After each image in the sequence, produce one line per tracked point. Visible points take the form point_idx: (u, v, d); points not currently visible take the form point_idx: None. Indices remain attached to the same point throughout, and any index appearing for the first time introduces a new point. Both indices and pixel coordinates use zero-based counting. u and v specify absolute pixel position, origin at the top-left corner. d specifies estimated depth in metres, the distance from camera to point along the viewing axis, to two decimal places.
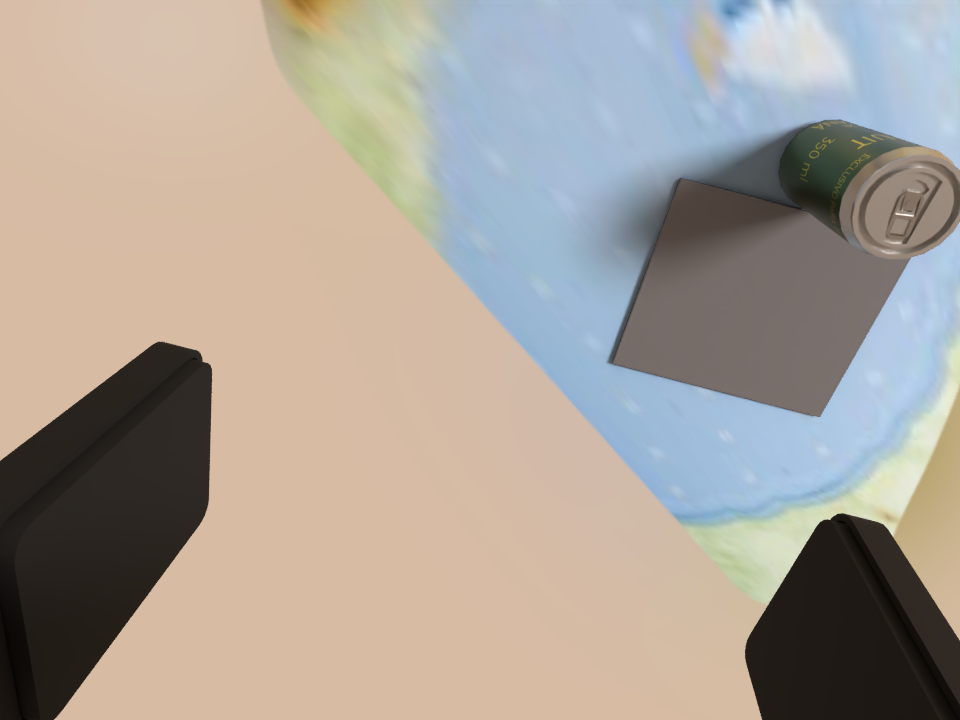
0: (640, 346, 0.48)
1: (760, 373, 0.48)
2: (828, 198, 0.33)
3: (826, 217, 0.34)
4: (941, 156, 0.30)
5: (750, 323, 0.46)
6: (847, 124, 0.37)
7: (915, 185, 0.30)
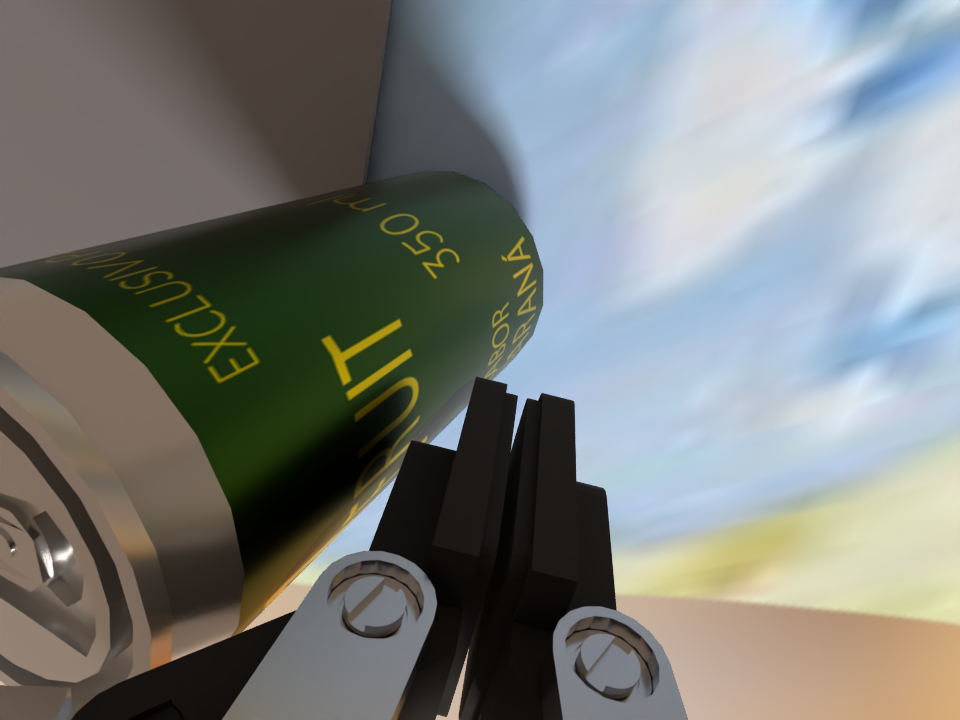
0: None
1: None
2: (133, 244, 0.08)
3: None
4: (206, 639, 0.07)
5: (59, 168, 0.18)
6: (510, 318, 0.14)
7: (78, 561, 0.07)
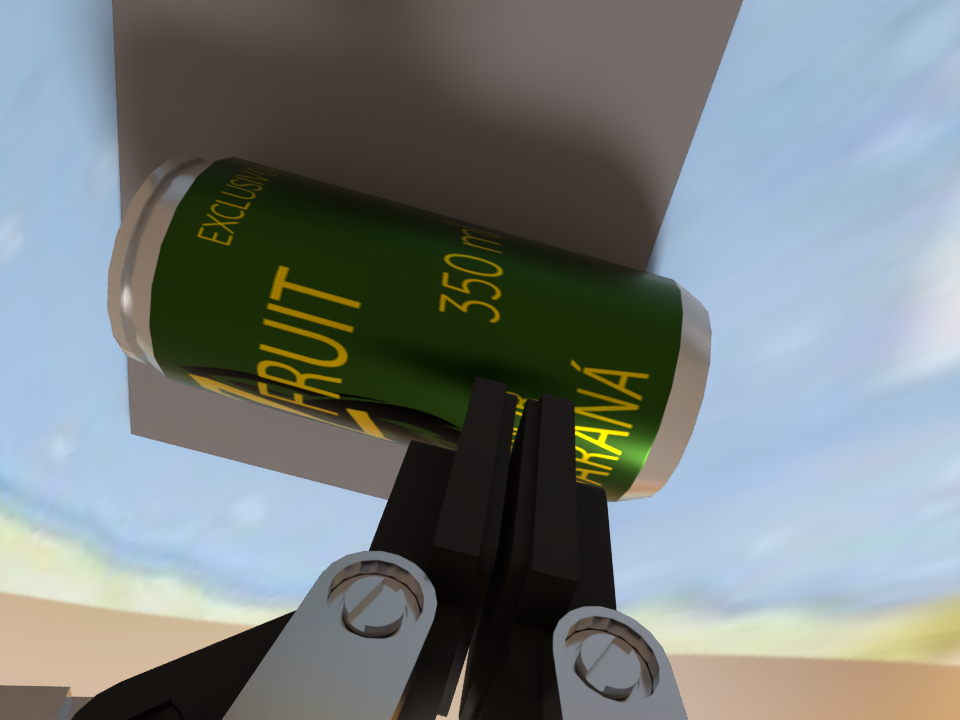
0: None
1: None
2: (300, 178, 0.14)
3: None
4: (144, 349, 0.14)
5: None
6: None
7: None
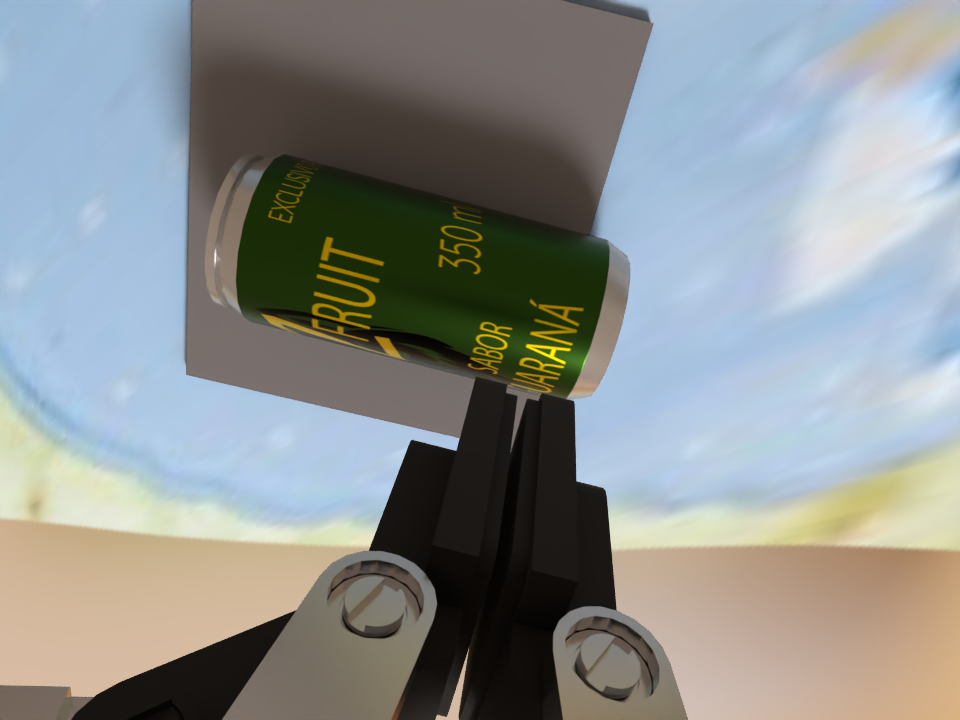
0: None
1: None
2: (334, 170, 0.20)
3: None
4: (229, 297, 0.19)
5: None
6: (510, 340, 0.19)
7: None
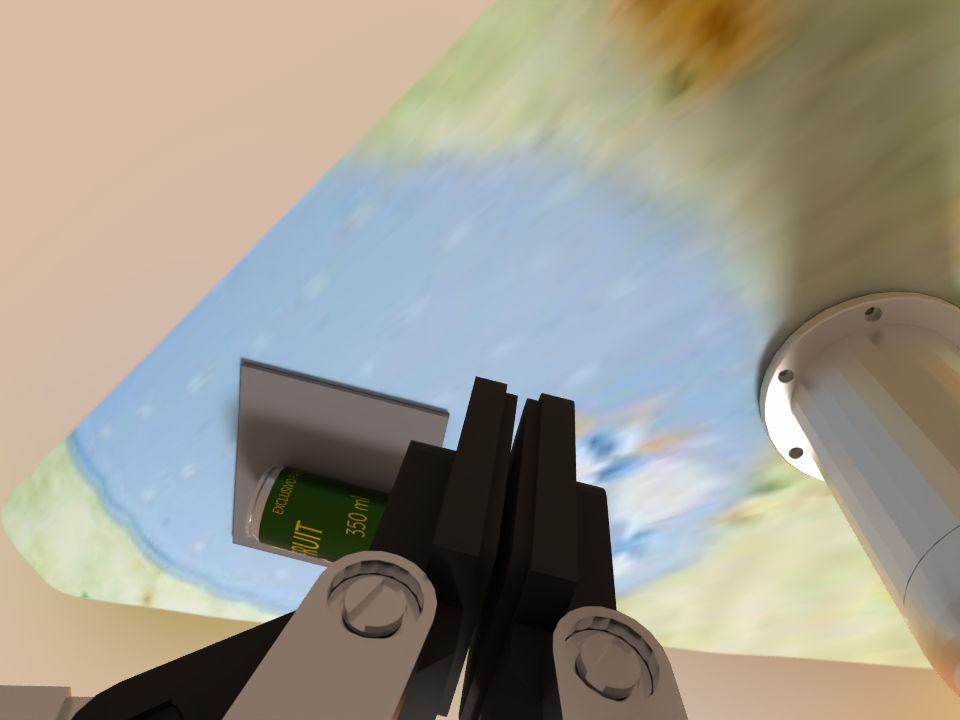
0: (267, 391, 0.43)
1: None
2: (303, 480, 0.43)
3: (313, 474, 0.44)
4: (255, 538, 0.43)
5: None
6: None
7: None
